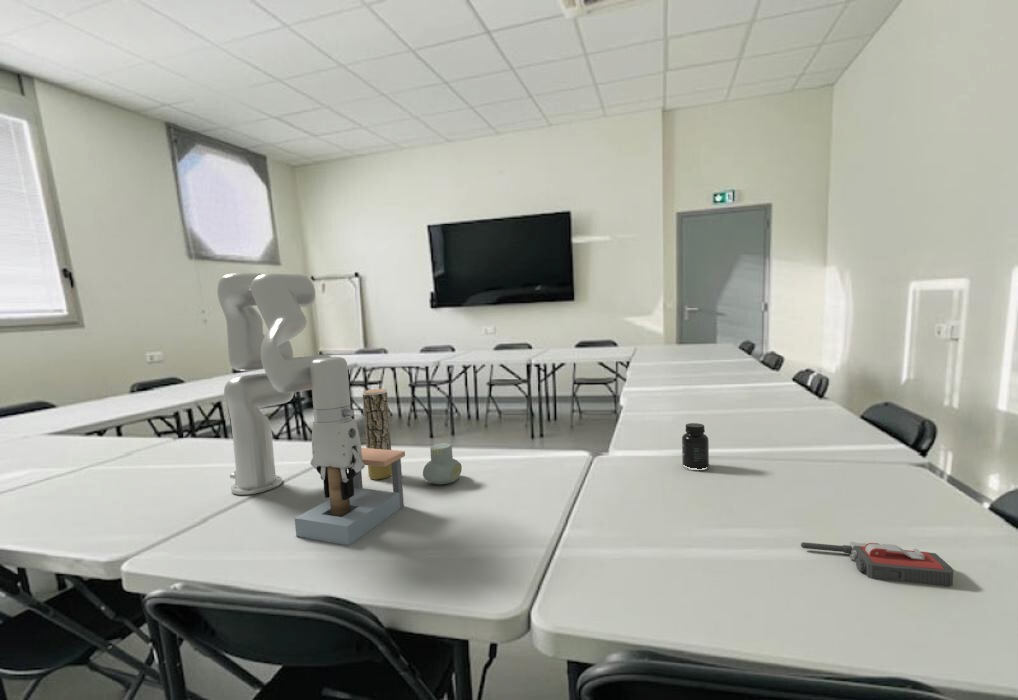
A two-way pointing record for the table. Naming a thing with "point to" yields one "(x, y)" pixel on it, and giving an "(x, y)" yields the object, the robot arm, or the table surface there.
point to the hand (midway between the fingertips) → (339, 495)
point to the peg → (337, 493)
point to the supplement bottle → (695, 447)
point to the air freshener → (442, 465)
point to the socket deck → (357, 505)
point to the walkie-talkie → (894, 563)
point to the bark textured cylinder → (377, 428)
